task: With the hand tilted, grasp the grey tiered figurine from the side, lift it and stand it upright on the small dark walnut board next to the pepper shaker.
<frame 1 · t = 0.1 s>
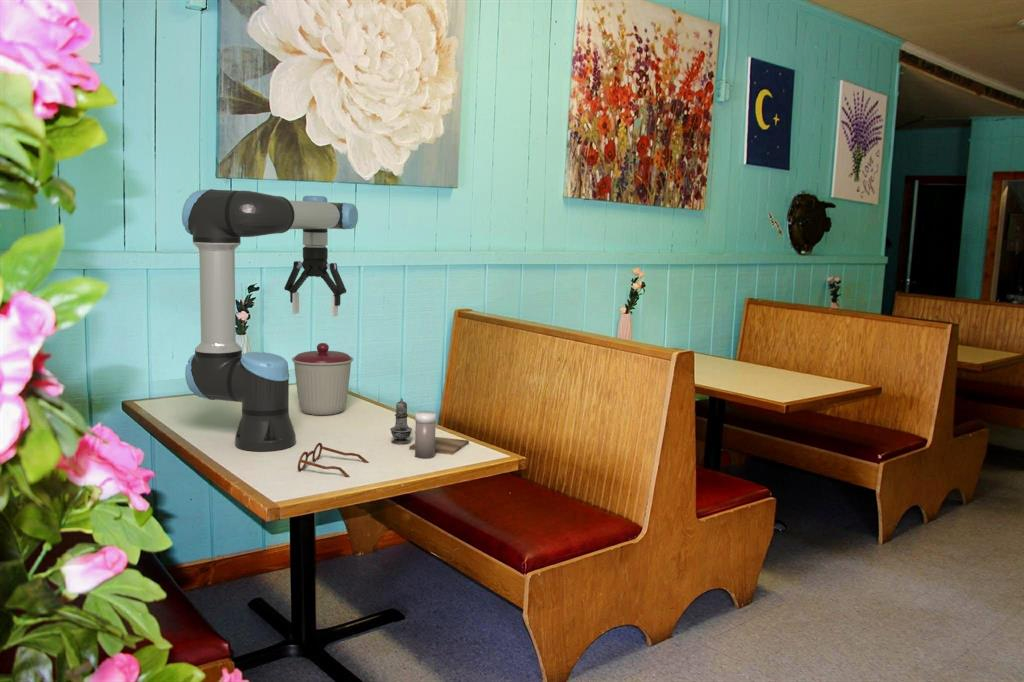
hand: (315, 315, 277), 28 cm above the table, tool pointing down, fingers open, 13 cm apart
walnut board: (439, 446, 234), on the table
glasses: (333, 470, 212), on the table
canister: (322, 412, 269), on the table
pepper shaker: (424, 455, 224), on the table
grey tiered figurine: (401, 442, 237), on the table
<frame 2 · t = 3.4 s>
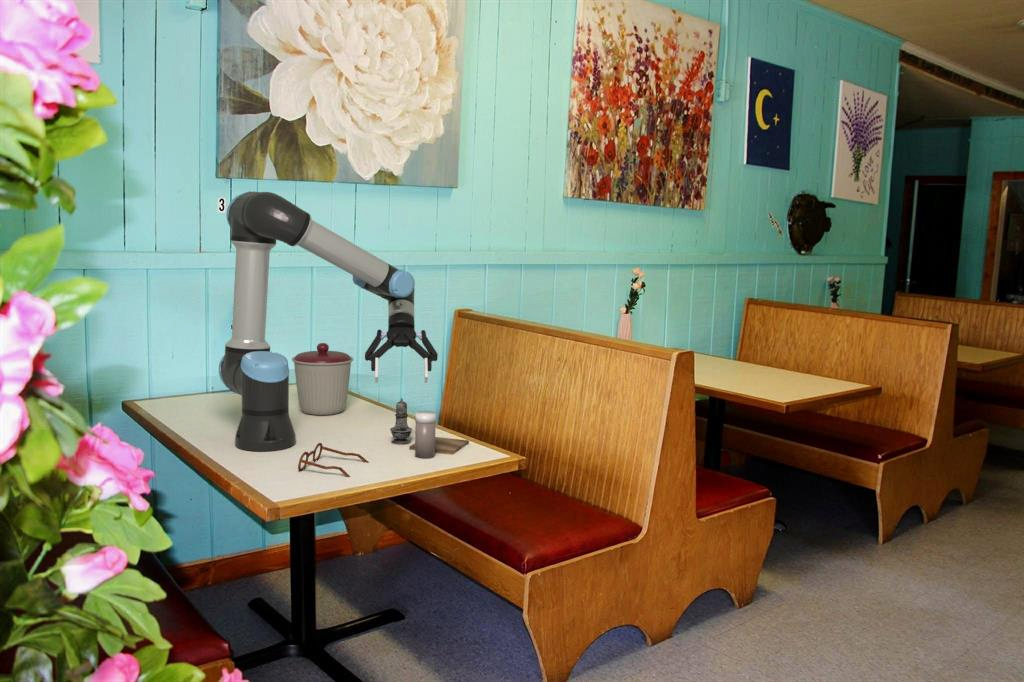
hand: (401, 379, 245), 15 cm above the table, tool tilted 45°, fingers open, 13 cm apart
nothing on the table moved.
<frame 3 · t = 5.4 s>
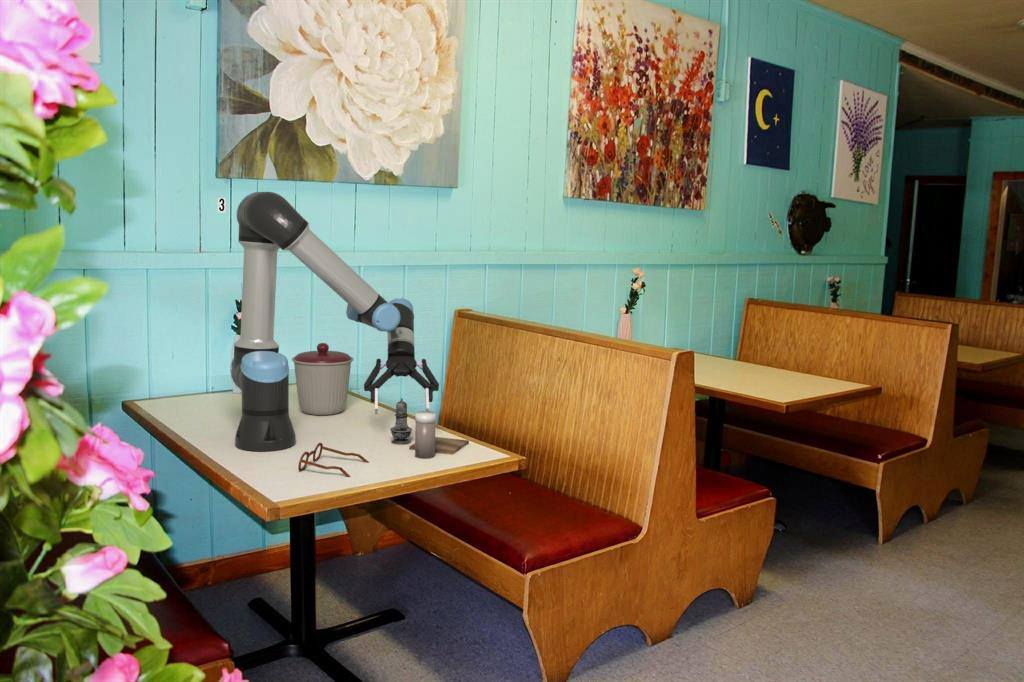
hand: (402, 411, 237), 8 cm above the table, tool tilted 45°, fingers open, 13 cm apart
nothing on the table moved.
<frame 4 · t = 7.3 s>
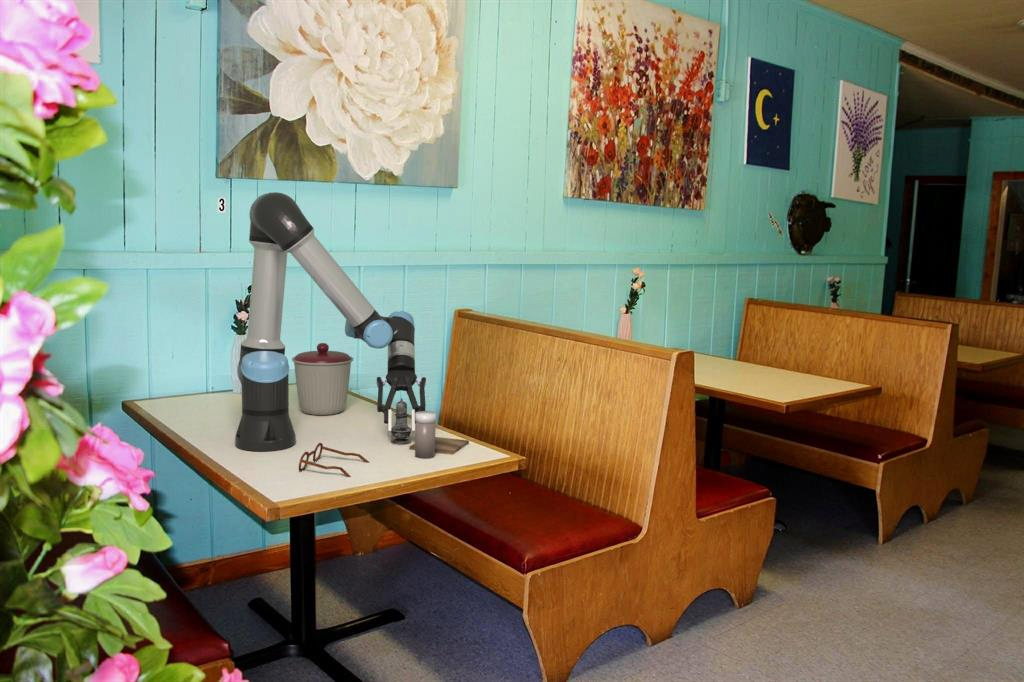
hand: (401, 433, 233), 3 cm above the table, tool tilted 45°, fingers closed on grey tiered figurine, 5 cm apart
grey tiered figurine: (401, 442, 237), on the table, touching gripper
everything else where it was.
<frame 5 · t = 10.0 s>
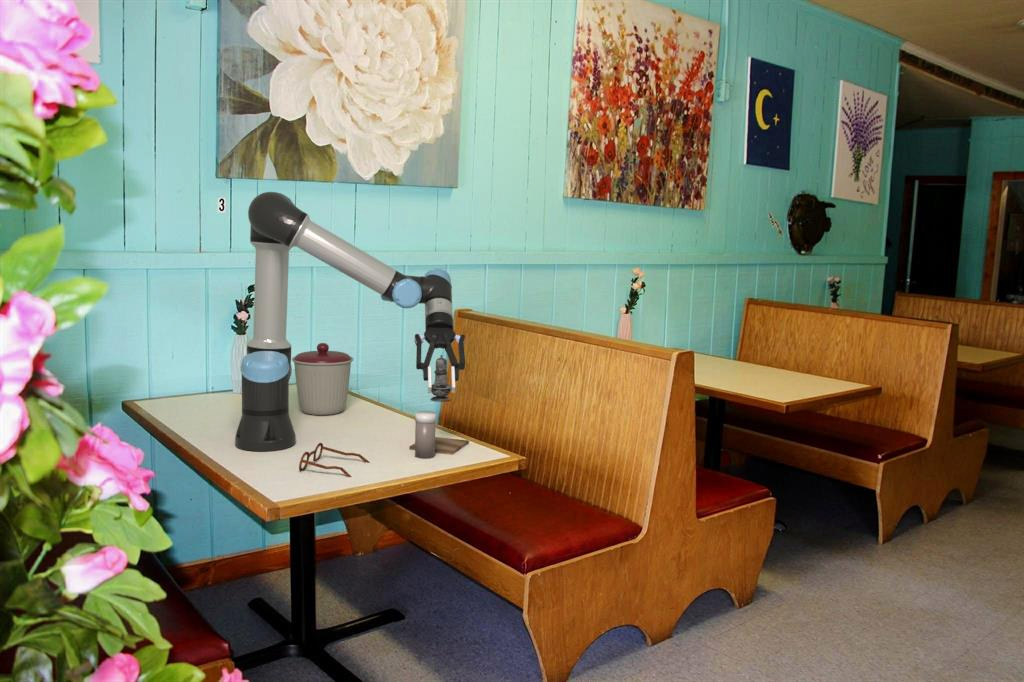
hand: (441, 390, 228), 16 cm above the table, tool tilted 45°, fingers closed on grey tiered figurine, 5 cm apart
grey tiered figurine: (440, 400, 232), point 12 cm above the table, touching gripper
everything else where it was.
when the fingers open (5 cm above the table, at t = 12.6 s): grey tiered figurine drops 1 cm, resting on walnut board.
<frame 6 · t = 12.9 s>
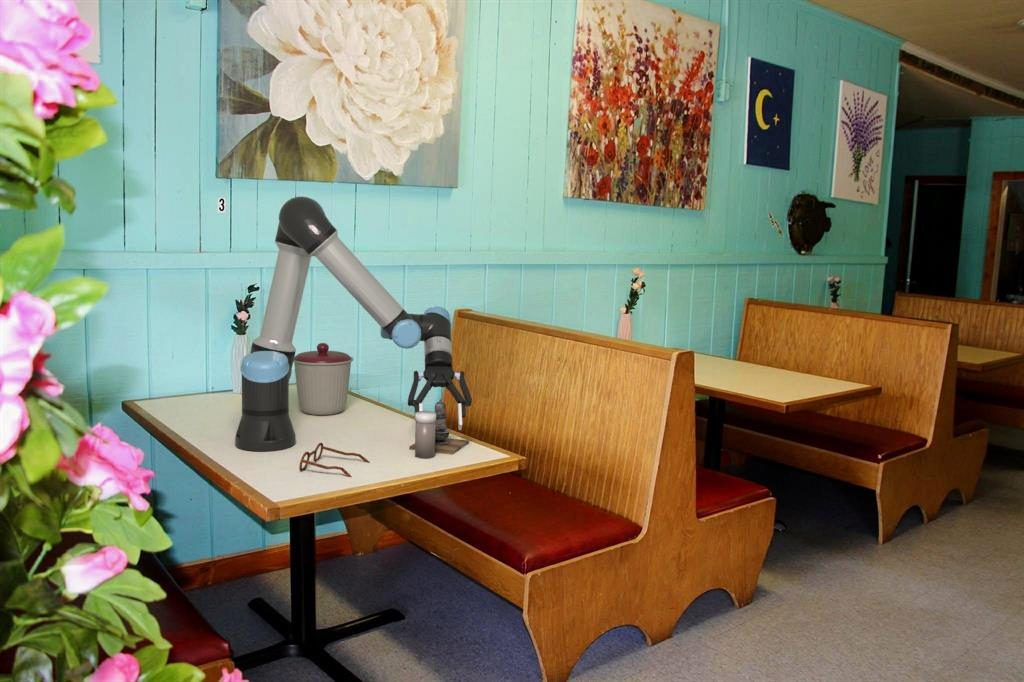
hand: (440, 427, 230), 6 cm above the table, tool tilted 45°, fingers open, 9 cm apart
grey tiered figurine: (439, 443, 234), point 1 cm above the table, touching walnut board
everything else where it was.
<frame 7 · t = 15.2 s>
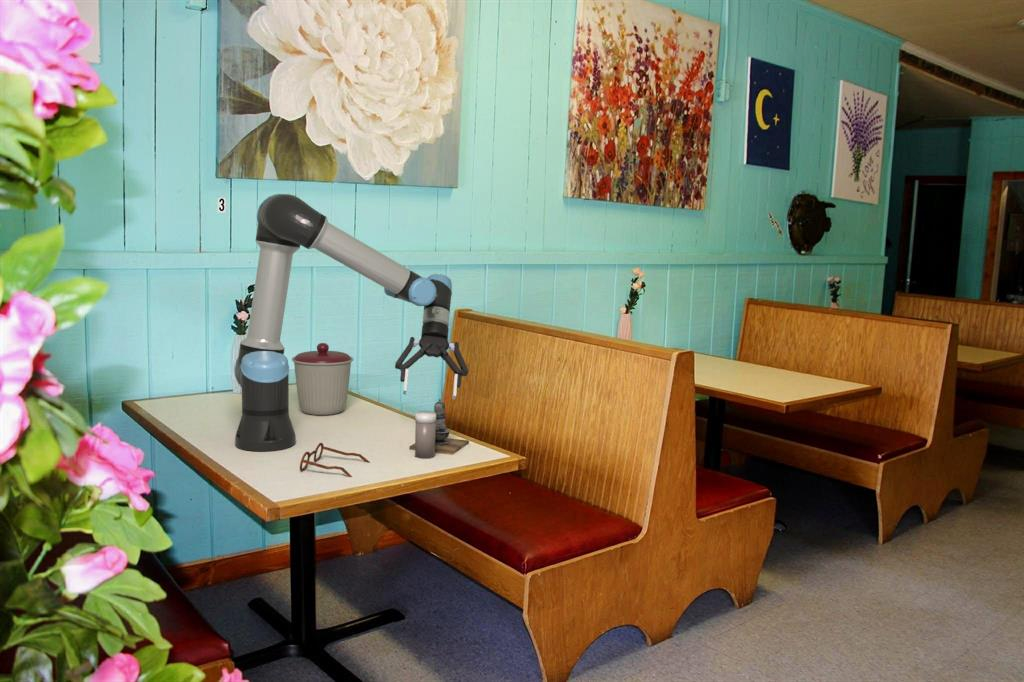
hand: (429, 395, 243), 11 cm above the table, tool tilted 35°, fingers open, 13 cm apart
nothing on the table moved.
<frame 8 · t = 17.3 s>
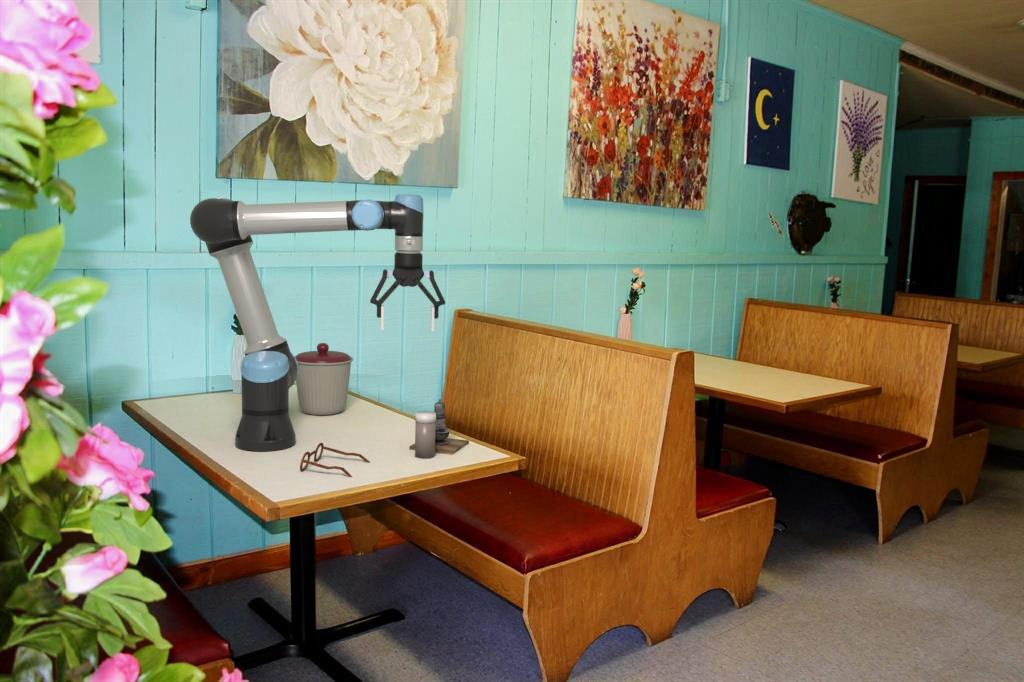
hand: (407, 330, 243), 29 cm above the table, tool pointing down, fingers open, 13 cm apart
nothing on the table moved.
at the end: grey tiered figurine 0.2 cm from the walnut board (horizontally); grey tiered figurine tilted 0°; the gripper is holding nothing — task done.
